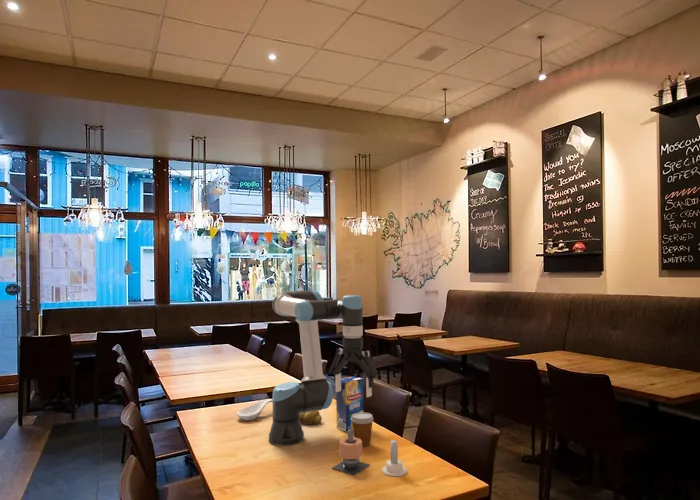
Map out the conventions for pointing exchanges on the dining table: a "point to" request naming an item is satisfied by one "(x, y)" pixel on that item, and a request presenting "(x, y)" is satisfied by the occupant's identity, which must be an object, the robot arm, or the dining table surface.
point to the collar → (350, 448)
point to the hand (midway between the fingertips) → (353, 393)
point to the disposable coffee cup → (362, 427)
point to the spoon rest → (253, 410)
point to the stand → (351, 461)
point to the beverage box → (349, 401)
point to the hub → (394, 462)
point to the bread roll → (310, 417)
